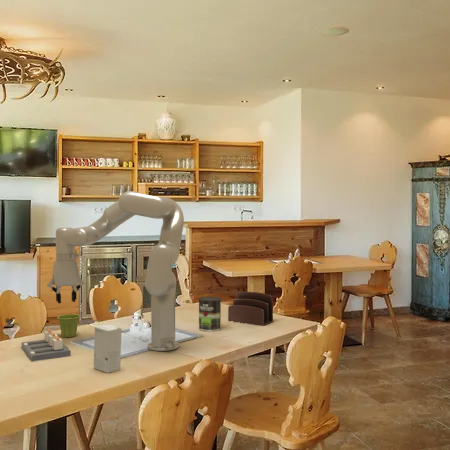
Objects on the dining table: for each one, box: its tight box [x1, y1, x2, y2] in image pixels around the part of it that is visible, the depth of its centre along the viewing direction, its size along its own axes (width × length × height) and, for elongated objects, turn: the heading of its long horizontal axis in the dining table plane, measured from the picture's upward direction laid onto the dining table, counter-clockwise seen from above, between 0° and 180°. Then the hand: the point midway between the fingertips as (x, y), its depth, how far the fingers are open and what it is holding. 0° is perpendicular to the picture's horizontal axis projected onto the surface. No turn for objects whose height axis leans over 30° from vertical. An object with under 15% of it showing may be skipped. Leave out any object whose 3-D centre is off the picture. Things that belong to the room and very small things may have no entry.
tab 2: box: [48, 331, 59, 346], centre depth 208 cm, size 4×3×4 cm
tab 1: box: [44, 328, 55, 342], centre depth 214 cm, size 4×3×4 cm
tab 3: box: [52, 336, 63, 350], centre depth 202 cm, size 4×3×4 cm
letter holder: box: [227, 291, 274, 327], centre depth 258 cm, size 10×20×14 cm, turn 57°
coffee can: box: [198, 296, 222, 332], centre depth 243 cm, size 10×10×14 cm
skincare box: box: [93, 324, 122, 374], centre depth 184 cm, size 8×6×15 cm
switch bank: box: [21, 339, 72, 362], centre depth 207 cm, size 22×14×2 cm, turn 30°
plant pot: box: [57, 313, 81, 338], centre depth 231 cm, size 9×9×9 cm
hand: (66, 301), depth 217 cm, fingers open, 5 cm apart
